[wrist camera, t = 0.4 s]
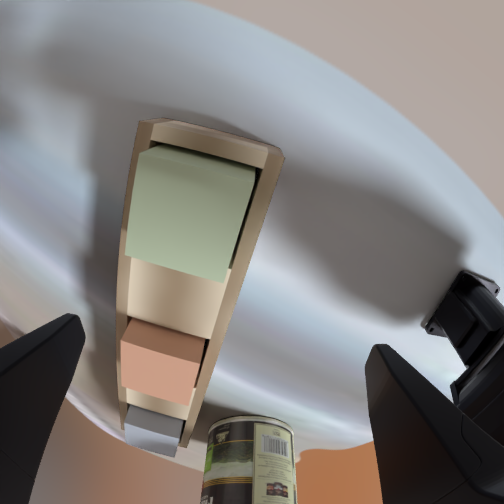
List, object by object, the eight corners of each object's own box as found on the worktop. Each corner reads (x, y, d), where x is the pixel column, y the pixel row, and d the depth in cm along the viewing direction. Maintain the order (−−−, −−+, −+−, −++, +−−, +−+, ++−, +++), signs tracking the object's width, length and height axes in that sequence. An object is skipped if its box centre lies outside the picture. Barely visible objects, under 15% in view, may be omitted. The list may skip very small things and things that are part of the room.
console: (279, 148, 17) (284, 158, 13) (192, 419, 30) (186, 448, 26) (163, 117, 16) (139, 120, 13) (131, 401, 29) (121, 429, 25)
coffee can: (207, 447, 33) (195, 540, 21) (210, 409, 29) (194, 530, 16) (283, 454, 34) (286, 545, 21) (304, 417, 29) (314, 533, 16)
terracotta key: (209, 321, 20) (200, 364, 17) (196, 366, 23) (188, 405, 19) (140, 302, 20) (120, 340, 16) (137, 348, 22) (121, 386, 18)
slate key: (186, 404, 25) (179, 438, 22) (180, 426, 27) (174, 457, 24) (135, 389, 25) (123, 422, 21) (135, 413, 27) (126, 443, 23)
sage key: (255, 165, 16) (254, 183, 12) (230, 246, 18) (223, 283, 14) (166, 142, 15) (139, 153, 11) (150, 224, 17) (124, 255, 14)
